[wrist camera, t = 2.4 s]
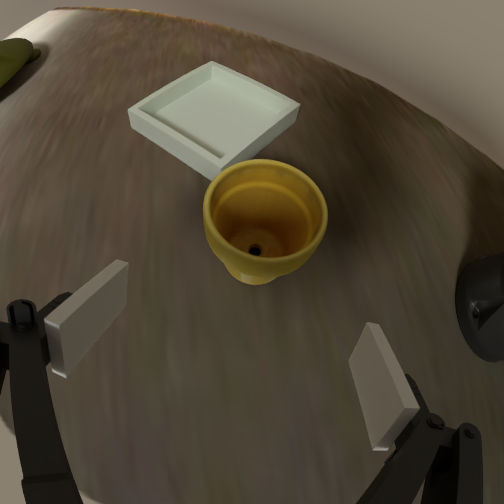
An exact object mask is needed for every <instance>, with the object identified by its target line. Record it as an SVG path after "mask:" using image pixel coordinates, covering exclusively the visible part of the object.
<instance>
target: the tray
mask: <svg viewBox="0 0 504 504" xmlns="http://www.w3.org/2000/svg"><path fill="white" fill-rule="evenodd" d="M299 108H300V104H299V103H297V102H295V101H294V100H292V99H290V98H288V97H286V96H284V95H282V94H281V93H279V92H277V91H275V90H273V89H271V88H269V87H267V86H265V85H263V84H261V83H259V82H257V81H255V80H253V79H251V78H249V77H246V76H244V75H242V74H240V73H238V72H236V71H233V70H231V69H229V68H227V67H225V66H222V65H220V64H218V63H215V62H213V61H211V62H209V63H207V64H205V65H203V66H201V67H199V68H197V69H195V70H193V71H191V72H189V73H188V74H186V75H184V76H182V77H180V78H179V79H177V80H175V81H173V82H171V83H170V84H168V85H166V86H165V87H163V88H161V89H160V90H158V91H156V92H155V93H153V94H151V95H150V96H148V97H147V98H145V99H143V100H142V101H140V102H139V103H137V104H136V105H134V106H132V107H131V108H129V109H128V113H129V118H130V123H131V127H132V128H133V129H134V130H136V131H137V132H139V133H140V134H142V135H144V136H145V137H147V138H148V139H150V140H151V141H153V142H154V143H156V144H157V145H159V146H160V147H162V148H163V149H165V150H166V151H168V152H169V153H171V154H172V155H174V156H175V157H177V158H178V159H180V160H181V161H183V162H184V163H186V164H187V165H189V166H190V167H192V168H193V169H194V170H196V171H197V172H199V173H200V174H202V175H203V176H205V177H206V178H208V179H209V180H211V181H213V179H214V178H215V177H216V176H217V175H218V174H219V173H220V172H222V171H223V170H224V169H226V168H228V167H229V166H231V165H233V164H236V163H239V162H242V161H246V160H251V159H252V158H253V157H254V156H255V155H257V154H258V153H259V152H260V151H261V150H262V149H264V148H265V147H266V146H267V145H268V144H269V143H271V142H272V141H273V140H274V139H275V138H276V137H278V136H279V135H280V134H281V133H282V132H284V131H285V130H286V129H287V128H288V127H290V126H291V125H292V124H293V123H294V122H295V121H296V118H297V114H298V111H299Z"/></svg>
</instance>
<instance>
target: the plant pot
mask: <svg viewBox="0 0 504 504" xmlns="http://www.w3.org/2000/svg"><path fill="white" fill-rule="evenodd" d="M203 220H204V228H205V234H206V238H207V241H208V243H209V245H210V247H211V249H212V251H213V252H214V253H215V255H216V256H217V257H218V258H219V259H220V260H221V261H222V262H223V263H224V264H225V266H226V268H227V270H228V271H229V272H230V274H231V275H232V276H233V277H235V278H236V279H237V280H239V281H241V282H243V283H246V284H251V285H261V284H265V283H268V282H270V281H272V280H274V279H275V278H276V277H279V276H282V275H286V274H288V273H291V272H293V271H294V270H296V269H298V268H299V267H300V266H302V265H303V264H304V263H305V262H306V261H307V260H308V259H309V258H310V257H311V255H312V254H313V253H314V251H315V250H316V248H317V247H318V245H319V243H320V242H321V240H322V238H323V236H324V234H325V231H326V228H327V223H328V210H327V205H326V201H325V199H324V197H323V194H322V193H321V191H320V189H319V188H318V187H317V185H316V184H315V183H314V182H313V181H312V180H311V179H310V178H309V177H308V176H307V175H306V174H304V173H303V172H302V171H300V170H298V169H297V168H295V167H293V166H291V165H288V164H286V163H283V162H279V161H275V160H268V159H253V160H246V161H242V162H239V163H236V164H233V165H231V166H229V167H228V168H226V169H224V170H223V171H222V172H220V173H219V174H218V175H217V176H216V177H215V178H214V179H213V181H212V182H211V183H210V185H209V187H208V189H207V191H206V194H205V197H204V202H203ZM253 247H257V248H259V249H260V251H261V254H260V255H259V256H254V255H251V254H250V253H249V250H250V249H251V248H253Z"/></svg>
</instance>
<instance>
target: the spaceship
mask: <svg viewBox="0 0 504 504" xmlns="http://www.w3.org/2000/svg"><path fill="white" fill-rule="evenodd" d="M40 53H41V51H40V49H33V45H32V43H31V42H30V41H28V40H27V39H22V38H13V39H7V40H3V41H0V87H2V86H3V85H4V84H5V83H6V82H7V81H8V80H9V79H10V78H12V77H13V76H14V75H15V74H16V73H17V72H18V71H19V70H20V69H21V67H22V66H23V65H24V64H25V63H28V62H31V61H33V60H35V59H36V58H38V56H39V55H40Z"/></svg>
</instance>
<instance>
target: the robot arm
mask: <svg viewBox="0 0 504 504" xmlns="http://www.w3.org/2000/svg"><path fill="white" fill-rule="evenodd" d="M128 268H129V263H128V262H124V261H121V260H117V259H116V260H115V261H114V262H112V263H111V264H110V265H109V266H107V267H106V268H105V269H104V270H102V271H101V272H100V273H98V274H97V275H96V276H95V277H93V278H92V279H91V280H90V281H88V282H87V283H86V284H85V285H83V286H82V287H81V288H80V289H79V290H77V291H76V292H75V293H74V294H72V293H69V292H66V293H63V294H60V295H58V296H57V297H56V298H54V299H53V300H52V301H51V302H49V303H48V304H47V305H46V306H45V307H43V308H42V309H41V310H40V311H38V312H37V310H36V306H35V304H34V303H33V302H32V301H29V300H24V299H20V300H15V301H13V302H11V303H10V304H9V305H8V306H7V309H6V310H7V316H8V321H9V323H5V322H0V394H1V390H2V386H3V382H4V378H5V374H6V370H9V371H10V389H11V402H12V412H13V420H14V428H15V435H16V441H17V447H18V452H19V458H20V462H21V467H22V472H23V480H22V489H23V493H24V497H25V501H26V504H83V501H82V499H81V496H80V494H79V491H78V489H77V486H76V483H75V480H74V478H73V475H72V472H71V469H70V466H69V463H68V460H67V457H66V453H65V450H64V447H63V443H62V440H61V436H60V432H59V429H58V425H57V421H56V417H55V412H54V408H53V403H52V399H51V394H50V389H49V383H48V378H47V372H46V366H47V365H48V364H49V362H51V368H52V372H54V373H56V374H58V375H61V376H63V377H65V378H67V377H68V376H69V375H70V373H71V372H72V371H73V369H74V368H75V367H76V366H77V365H78V363H79V362H80V361H81V360H82V358H83V357H84V356H85V355H86V353H87V352H88V351H89V350H90V349H91V347H92V346H93V345H94V344H95V342H96V341H97V340H98V339H99V338H100V336H101V335H102V334H103V333H104V332H105V331H106V329H107V328H108V327H109V326H110V325H111V323H112V322H113V321H114V320H115V319H116V318H117V316H118V315H119V314H120V313H121V312H122V311H123V309H124V308H125V307H126V294H127V280H128ZM456 310H457V316H458V321H459V324H460V328H461V331H462V333H463V335H464V338H465V340H466V342H467V343H468V345H469V346H470V348H471V349H472V350H473V352H474V353H475V354H476V355H477V356H479V357H480V358H481V359H483V360H485V361H488V362H498V361H501V360H504V252H503V253H499V254H495V255H487V256H482V257H480V258H478V259H476V260H475V261H473V262H472V263H470V264H469V265H468V266H466V267H465V269H464V270H463V271H462V273H461V275H460V277H459V280H458V284H457V289H456ZM348 362H349V365H350V369H351V372H352V375H353V379H354V382H355V386H356V389H357V393H358V397H359V400H360V404H361V407H362V411H363V415H364V419H365V422H366V426H367V430H368V434H369V438H370V442H371V446H372V450H388V449H389V448H390V446H391V445H392V444H393V443H394V442H395V446H396V449H395V451H394V452H393V453H392V454H391V455H390V456H389V457H388V459H387V460H386V461H385V462H384V463H385V465H384V466H383V468H382V469H381V471H380V472H379V474H378V475H377V476H376V478H375V479H374V481H373V482H372V483H371V485H370V486H369V487H368V489H367V490H366V491H365V493H364V494H363V495H362V497H361V498H360V499H359V500H358V502H357V503H356V504H412V502H413V500H414V498H415V497H416V495H417V493H418V491H419V489H420V487H421V485H422V483H423V481H424V479H425V483H424V489H423V494H422V499H421V504H483V459H482V442H481V434H480V432H479V430H478V429H477V427H475V426H474V425H472V424H470V423H462V424H461V425H460V426H459V428H458V429H457V430H456V429H452V428H448V427H446V425H445V422H444V421H443V419H442V418H441V417H439V416H438V415H436V414H434V413H430V412H429V409H428V407H427V405H426V403H425V401H424V399H423V397H422V395H421V393H420V391H419V390H418V387H417V385H416V383H415V381H414V380H413V379H412V378H411V377H410V376H409V375H408V374H404V373H403V371H402V369H401V367H400V365H399V363H398V361H397V359H396V357H395V355H394V353H393V351H392V349H391V347H390V345H389V343H388V341H387V339H386V337H385V335H384V333H383V331H382V329H381V327H380V326H379V324H374V323H370V322H367V323H366V325H365V327H364V330H363V332H362V334H361V336H360V338H359V340H358V342H357V345H356V347H355V349H354V351H353V353H352V355H351V357H350V359H349V361H348Z"/></svg>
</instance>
